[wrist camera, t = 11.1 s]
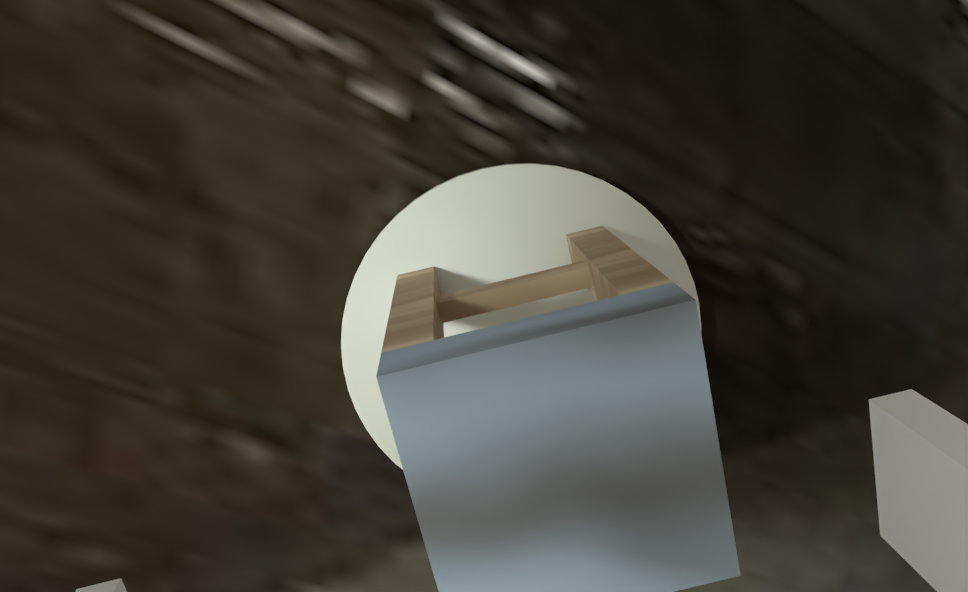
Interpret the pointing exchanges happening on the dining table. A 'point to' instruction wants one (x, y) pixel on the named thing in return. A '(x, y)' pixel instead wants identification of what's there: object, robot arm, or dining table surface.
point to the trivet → (487, 257)
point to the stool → (560, 430)
